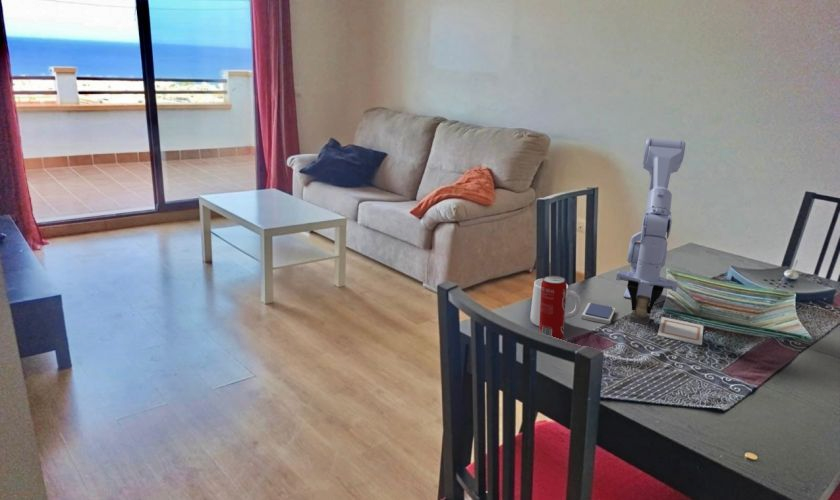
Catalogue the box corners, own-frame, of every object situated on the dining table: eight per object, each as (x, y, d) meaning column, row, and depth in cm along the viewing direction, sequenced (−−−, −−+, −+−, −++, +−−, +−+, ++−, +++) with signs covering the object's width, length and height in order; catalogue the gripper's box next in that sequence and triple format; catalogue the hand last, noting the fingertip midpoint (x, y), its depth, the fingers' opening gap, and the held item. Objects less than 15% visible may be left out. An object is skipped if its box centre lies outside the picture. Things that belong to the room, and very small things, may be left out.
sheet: (661, 317, 158) (661, 316, 158) (703, 326, 154) (703, 325, 154) (657, 335, 148) (657, 334, 148) (701, 345, 144) (702, 343, 144)
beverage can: (563, 345, 141) (571, 285, 136) (534, 341, 142) (541, 281, 137) (562, 334, 146) (570, 276, 142) (535, 330, 147) (542, 273, 143)
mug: (576, 318, 156) (581, 280, 152) (580, 332, 148) (586, 293, 145) (528, 314, 157) (533, 276, 153) (531, 327, 149) (535, 289, 146)
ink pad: (588, 306, 163) (588, 301, 163) (614, 311, 161) (615, 306, 160) (581, 318, 156) (582, 313, 155) (609, 324, 153) (610, 319, 152)
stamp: (632, 314, 160) (635, 292, 158) (649, 318, 158) (653, 296, 156) (629, 320, 156) (633, 298, 154) (647, 324, 154) (651, 301, 152)
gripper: (617, 260, 151) (609, 310, 155) (680, 271, 145) (670, 322, 150) (621, 252, 157) (614, 300, 162) (681, 262, 151) (672, 312, 156)
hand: (641, 310), depth 156 cm, fingers closed on stamp, 3 cm apart
